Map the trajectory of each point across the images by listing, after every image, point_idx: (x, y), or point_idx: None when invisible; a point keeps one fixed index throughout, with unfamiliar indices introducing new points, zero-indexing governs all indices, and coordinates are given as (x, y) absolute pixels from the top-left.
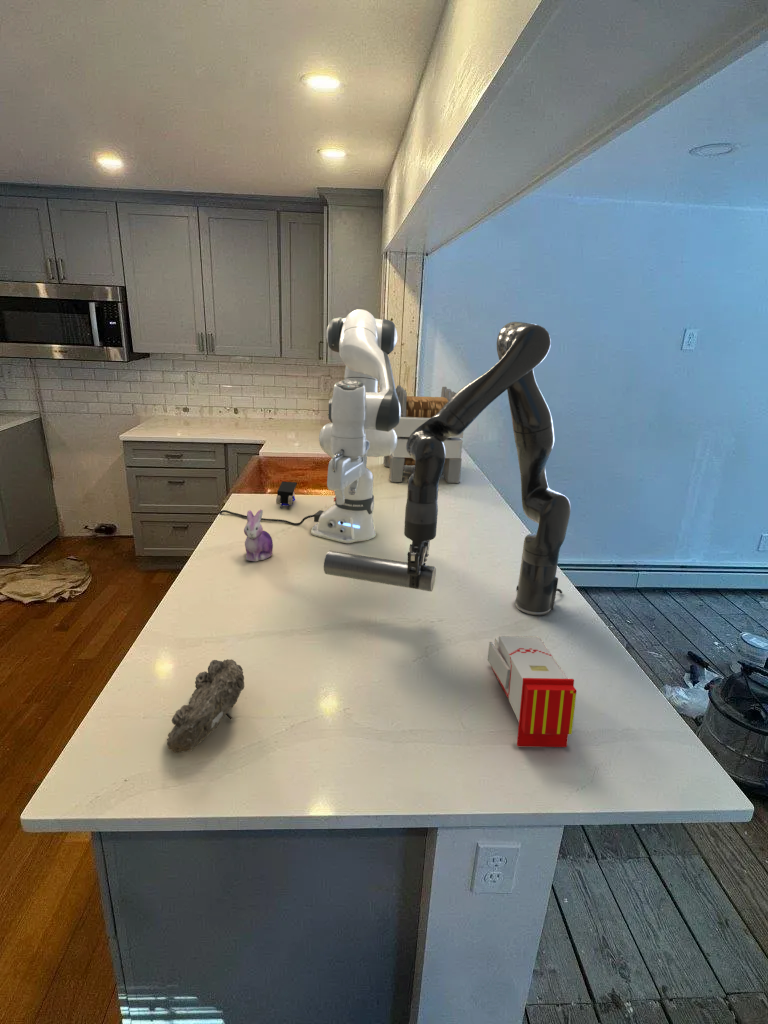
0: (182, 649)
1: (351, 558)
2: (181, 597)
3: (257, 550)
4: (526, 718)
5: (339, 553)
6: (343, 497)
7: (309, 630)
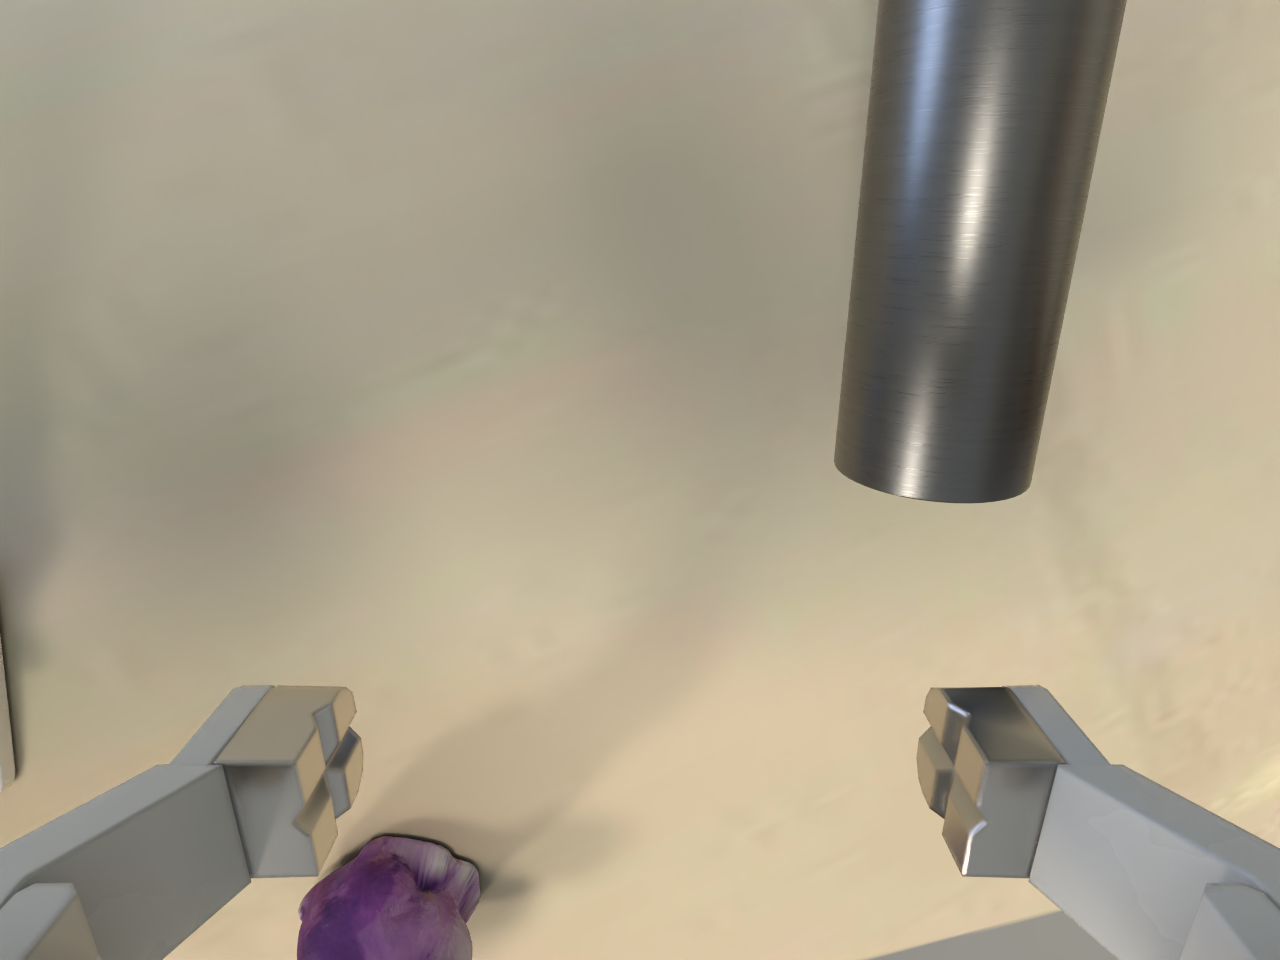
0: (1224, 756)
1: (1052, 265)
2: (874, 934)
3: (452, 908)
4: None
5: (993, 400)
6: (1100, 771)
7: None
